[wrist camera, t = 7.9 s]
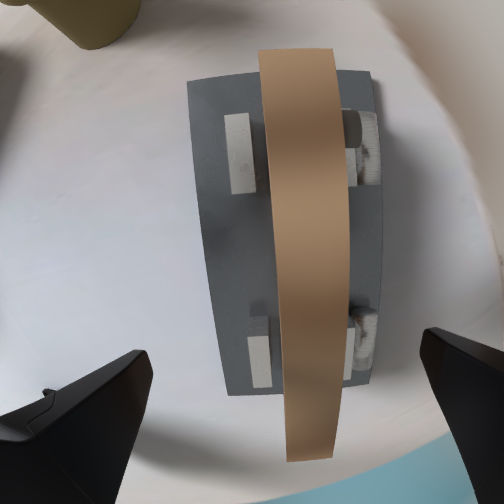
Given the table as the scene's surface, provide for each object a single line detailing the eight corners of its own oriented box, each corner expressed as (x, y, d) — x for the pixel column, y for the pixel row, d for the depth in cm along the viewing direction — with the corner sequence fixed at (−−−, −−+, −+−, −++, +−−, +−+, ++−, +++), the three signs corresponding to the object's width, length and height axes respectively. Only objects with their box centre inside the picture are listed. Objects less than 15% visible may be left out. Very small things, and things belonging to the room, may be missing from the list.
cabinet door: (331, 369, 20) (353, 454, 12) (282, 373, 20) (286, 462, 13) (324, 99, 15) (366, 50, 8) (262, 102, 16) (258, 50, 8)
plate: (365, 376, 21) (377, 404, 18) (229, 387, 22) (223, 418, 19) (364, 75, 15) (384, 59, 12) (190, 85, 16) (174, 69, 13)
